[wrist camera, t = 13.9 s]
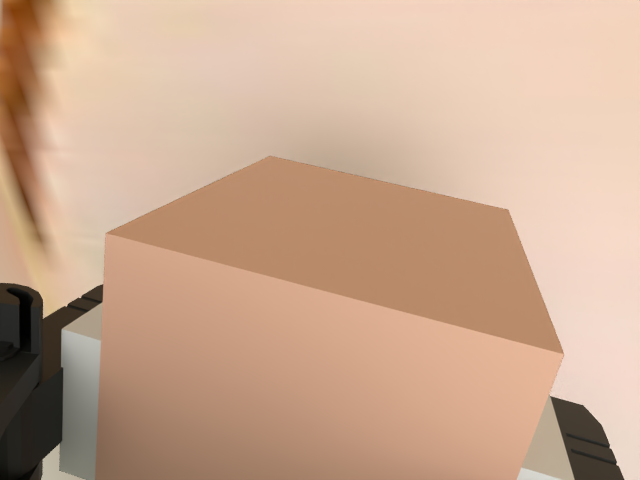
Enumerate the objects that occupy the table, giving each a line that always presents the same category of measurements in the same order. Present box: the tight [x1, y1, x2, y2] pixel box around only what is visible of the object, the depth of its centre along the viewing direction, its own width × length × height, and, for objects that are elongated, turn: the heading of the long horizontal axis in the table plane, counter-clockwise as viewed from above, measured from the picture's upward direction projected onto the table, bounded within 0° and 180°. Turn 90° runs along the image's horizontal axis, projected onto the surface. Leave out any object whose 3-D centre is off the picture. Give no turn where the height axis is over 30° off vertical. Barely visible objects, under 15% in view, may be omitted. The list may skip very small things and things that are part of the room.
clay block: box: [95, 156, 564, 480], centre depth 11 cm, size 6×6×7 cm
